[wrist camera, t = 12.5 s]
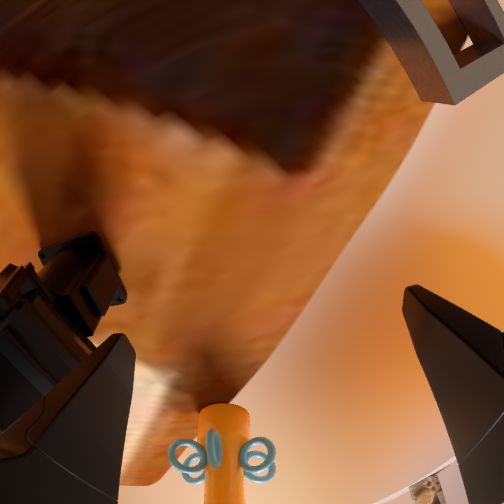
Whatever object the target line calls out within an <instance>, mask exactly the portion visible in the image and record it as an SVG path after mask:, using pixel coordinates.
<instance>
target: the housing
mask: <svg viewBox="0 0 504 504" xmlns="http://www.w3.org/2000/svg"><path fill="white" fill-rule="evenodd" d="M358 1H359V2H360V3H361V4H362V6H363V7H364V8H365V10H366V11H367V12H368V14H369V15H370V16H371V18H372V19H373V21H374V22H375V23H376V25H377V26H378V28H379V29H380V31H381V32H382V34H383V35H384V37H385V38H386V40H387V41H388V43H389V44H390V46H391V47H392V49H393V51H394V52H395V54H396V55H397V57H398V59H399V60H400V62H401V64H402V65H403V67H404V69H405V71H406V72H407V74H408V76H409V78H410V80H411V81H412V83H413V85H414V87H415V89H416V91H417V93H418V95H419V97H420V99H421V100H422V101H426V102H434V103H443V104H450V105H456V104H458V103H459V102H461V101H462V100H464V99H465V98H466V97H468V96H470V95H471V94H473V93H474V92H476V91H477V90H479V89H480V88H482V87H483V86H485V85H486V84H488V83H489V82H491V81H492V80H494V79H495V78H497V77H498V76H500V75H501V74H503V73H504V12H503V10H502V8H501V6H500V4H499V2H498V1H497V0H449V2H450V3H451V5H452V7H453V8H454V10H455V12H456V13H457V15H458V17H459V18H460V20H461V22H462V24H463V26H464V27H465V29H466V31H467V33H468V35H469V37H470V39H471V41H472V43H473V45H471V46H469V47H468V48H466V49H464V50H462V51H460V52H458V53H456V54H454V55H453V54H452V52H451V50H450V48H449V46H448V44H447V42H446V41H445V39H444V37H443V35H442V34H441V32H440V30H439V28H438V27H437V25H436V23H435V22H434V20H433V18H432V17H431V15H430V14H429V12H428V11H427V9H426V7H425V6H424V4H423V3H422V1H421V0H358Z"/></svg>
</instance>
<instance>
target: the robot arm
mask: <svg viewBox="0 0 504 504" xmlns="http://www.w3.org/2000/svg"><path fill="white" fill-rule="evenodd" d="M91 237H93V238H94V241H93V240H92V239H91ZM43 254H44V255H45V256H44V255H43ZM38 256H39V258H40V260H41V262H42V264H43V266H44V267H43V268H42V269H41V270H40V271H39V272H38V273H36V272H35V270H34V269H35V268H34V266H33V265H32V263H31V262H29V263H27V264H26V265H25V266H20V267H19V266H18V267H17V266H15V265H13V264H9V265H7V266H6V267H5V268H4V269H3V270H2V271H1V272H0V504H118V501H117V500H118V493H119V483H120V474H121V466H122V458H123V450H124V443H125V436H126V430H127V424H128V418H129V412H130V406H131V400H132V393H133V382H134V370H135V360H136V353H135V350H134V348H133V346H132V345H131V343H130V342H129V340H128V338H127V337H126V335H125V334H123V333H116V334H112V335H111V336H110V337H109V338H107V339H106V340H105V341H104V342H103V343H102V344H101V345H100V346H99V347H97V348H96V347H95V345H94V344H93V343H92V342H91V341H90V340H89V339H88V338H87V337H89V336H93V334H94V332H95V330H96V328H97V326H98V324H99V322H100V319H101V317H103V316H105V314H106V312H107V310H108V308H109V306H114V305H120V304H124V303H125V302H126V300H127V295H126V293H125V291H124V289H123V287H122V285H121V281H120V279H119V277H118V275H117V273H116V271H115V269H114V266H113V264H112V262H111V260H110V258H109V257H108V256H107V254H106V252H105V249H104V247H103V245H102V243H101V240H100V238H99V236H98V234H97V233H95V232H89V233H86V234H83V235H80V236H77V237H74V238H71V239H68V240H65V241H62V242H59V243H56V244H53V245H50V246H47V247H44V248H42V249H41V250H40V251H39V252H38ZM120 297H122V298H123V299H121V298H120ZM402 311H403V315H404V318H405V321H406V324H407V327H408V330H409V333H410V336H411V339H412V342H413V345H414V348H415V351H416V354H417V357H418V359H419V362H420V364H421V366H422V368H423V371H424V373H425V375H426V378H427V380H428V382H429V385H430V387H431V390H432V392H433V395H434V397H435V400H436V402H437V405H438V407H439V410H440V413H441V415H442V418H443V421H444V423H445V426H446V429H447V432H448V435H449V438H450V440H451V444H452V446H453V449H454V452H455V456H456V459H457V462H458V464H459V465H458V466H459V469H460V472H461V476H462V480H463V483H464V487H465V490H466V494H467V498H468V502H469V504H502V503H504V332H502V333H501V331H500V330H499V329H497V328H495V327H493V326H492V325H490V324H488V323H487V322H485V321H483V320H481V319H480V318H478V317H476V316H474V315H472V314H471V313H469V312H467V311H466V310H464V309H462V308H460V307H458V306H457V305H455V304H453V303H451V302H449V301H448V300H446V299H444V298H442V297H440V296H438V295H437V294H435V293H433V292H431V291H429V290H427V289H425V288H423V287H422V286H420V285H417V284H416V285H411V286H407V287H406V288H405V290H404V298H403V306H402Z"/></svg>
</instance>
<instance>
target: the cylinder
mask: <svg viewBox="0 0 504 504" xmlns="http://www.w3.org/2000/svg"><path fill="white" fill-rule="evenodd" d="M197 439H198V440H197V442H198V443H197V442H196V441H193V440H190V439H179V440H176V441H175V442H173V443H172V444H171V445H170V447H169V449H168V458H169V461H170V462H171V464H172V465H173V466H174V467H175V468H176V469H177V470H179V471H181V472H182V475H183V478H184V479H185V480H186V481H187V482H188V483H191V484H199V483H201V482H203V481H205V494H204V504H245V495H244V476H245V477H247V478H248V479H249V480H251V481H253V482H257V483H263V482H266V481H269V480H270V479H271V478H272V477H273V476H274V474H275V469H276V467H275V463H274V458H275V454H276V449H275V446H274V444H273V443H272V441H270V440H269V439H267V438H265V437H256V438H253V439H251V431H250V416H249V413H248V412H247V411H246V410H245V409H244V408H242V407H240V406H238V405H234V404H226V403H218V404H212V405H209V406H206V407H205V408H203V409H202V410H201V411H200V413H199V422H198V438H197ZM256 444H264V445H265V446H266V447H267V449H268V455H267V454H266V453H263V452H260V451H250V452H248V450H249V449H250V448H251V447H252V446H254V445H256ZM183 445H187V446H191V447H193V448H195V449H196V450H197V451H198V453H194V454H192V455H190V456H189V457H188V458H187V459H186V460H185V461H184V463H183V465H182V464H181V463H179V462H178V460H177V459H176V456H175V452H176V450H177V448H178V447H180V446H183ZM247 452H248V453H247ZM252 457H260V458H262V459H263V460H265V461H264V462H263V463H262V464H261V465H258V466H250V465H249V464H248V463H247V462H248V460H249V459H250V458H252ZM199 458H200V462H199V464H198V465H196V466H194V467H189V466H190V464H191V463H192V461H194V460H195V459H199ZM268 467H269V471H268V473H267V474H266V475H265V476H262V477H258V476H255V475H253V474H252V473H259V472H262V471H264V470H266V469H267V468H268ZM203 469H204V471H203V473H202V474H201V475H200V476H199V477H197V478H191V477H190V476H189V474H194V473H198V472H200V471H202V470H203Z"/></svg>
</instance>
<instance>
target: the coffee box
mask: <svg viewBox="0 0 504 504" xmlns="http://www.w3.org/2000/svg"><path fill="white" fill-rule="evenodd" d="M409 490H410V493H411V496H412V500H413V503H414V504H446V501H445V497H444V494H443V491H442V488H441V485H440V482H439V479H438V476H437V475H433V476H429V477H428V478H426V479H424V480H422V481H420V482H418V483H416V484H414V485H412V486H411V487H409Z"/></svg>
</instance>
